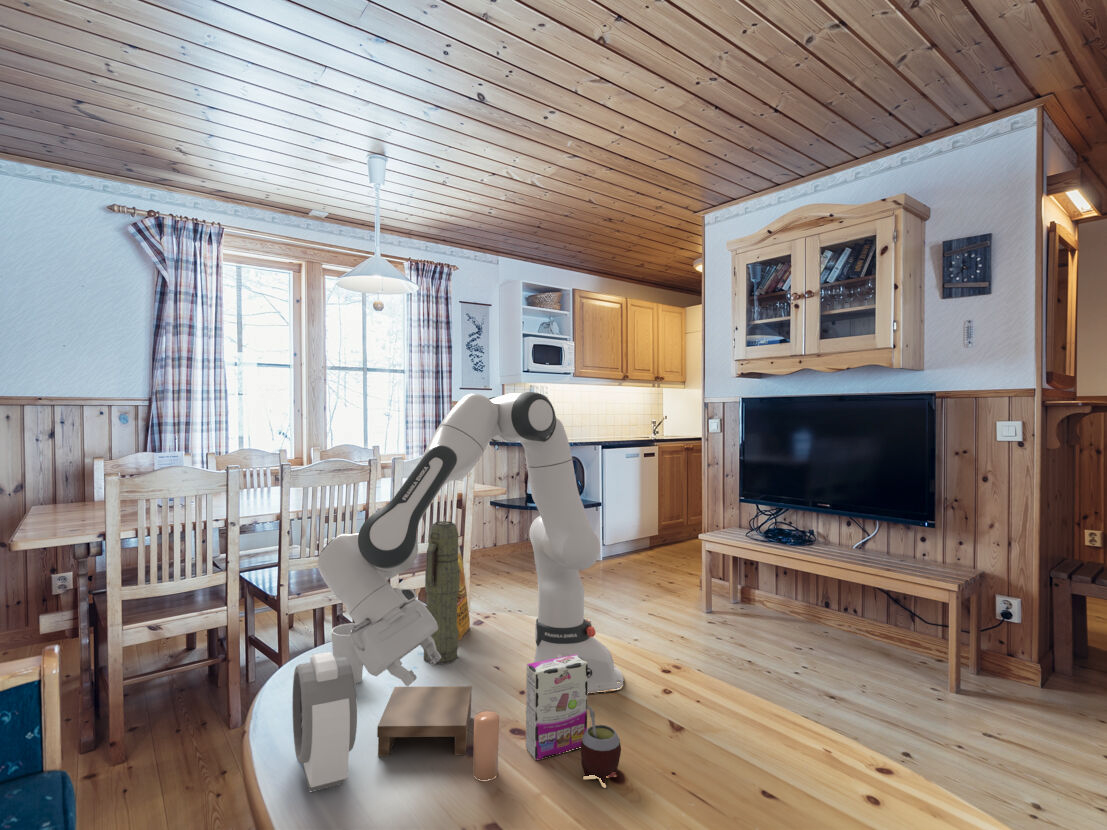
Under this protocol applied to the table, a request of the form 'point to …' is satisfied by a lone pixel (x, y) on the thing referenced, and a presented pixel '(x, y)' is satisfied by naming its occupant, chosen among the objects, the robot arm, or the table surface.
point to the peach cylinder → (486, 745)
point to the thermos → (443, 588)
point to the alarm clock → (324, 718)
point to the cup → (346, 649)
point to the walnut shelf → (426, 715)
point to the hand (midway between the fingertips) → (425, 671)
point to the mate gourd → (599, 750)
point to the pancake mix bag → (462, 601)
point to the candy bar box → (556, 705)
